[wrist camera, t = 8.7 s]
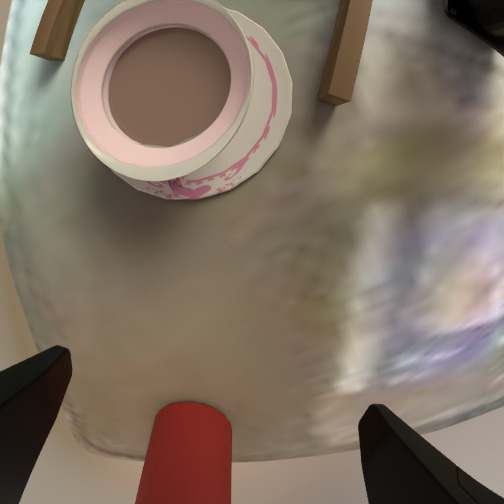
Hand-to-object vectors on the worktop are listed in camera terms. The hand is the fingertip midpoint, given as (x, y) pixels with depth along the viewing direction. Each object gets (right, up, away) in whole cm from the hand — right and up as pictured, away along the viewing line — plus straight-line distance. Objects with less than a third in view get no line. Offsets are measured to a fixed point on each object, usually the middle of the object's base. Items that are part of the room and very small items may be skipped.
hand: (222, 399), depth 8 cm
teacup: (-3, +13, +9) cm, 16 cm away
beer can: (-4, -11, +17) cm, 20 cm away
